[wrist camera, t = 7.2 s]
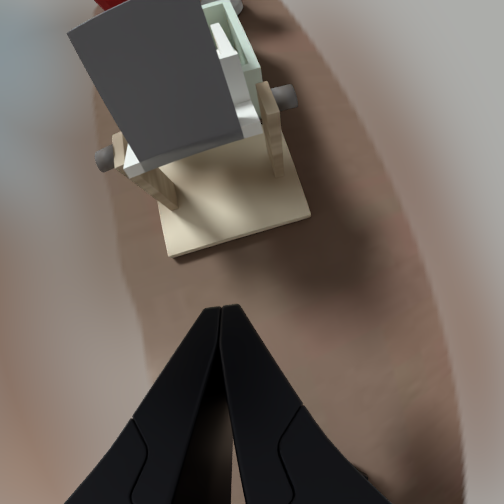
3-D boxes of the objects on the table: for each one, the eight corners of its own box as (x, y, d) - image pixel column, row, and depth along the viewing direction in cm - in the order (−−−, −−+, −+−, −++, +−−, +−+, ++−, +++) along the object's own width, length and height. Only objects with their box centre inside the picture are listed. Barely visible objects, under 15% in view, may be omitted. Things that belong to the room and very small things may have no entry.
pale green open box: (267, 116, 23) (260, 67, 17) (158, 152, 23) (124, 114, 18) (239, 45, 24) (228, -3, 18) (147, 76, 25) (121, 35, 19)
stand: (311, 216, 21) (325, 162, 12) (171, 258, 22) (102, 233, 13) (279, 125, 23) (271, 42, 14) (153, 165, 23) (93, 106, 14)
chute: (263, 133, 12) (217, -30, 7) (129, 178, 13) (48, 44, 7) (228, 53, 19) (200, -32, 13) (147, 82, 19) (111, 1, 13)
